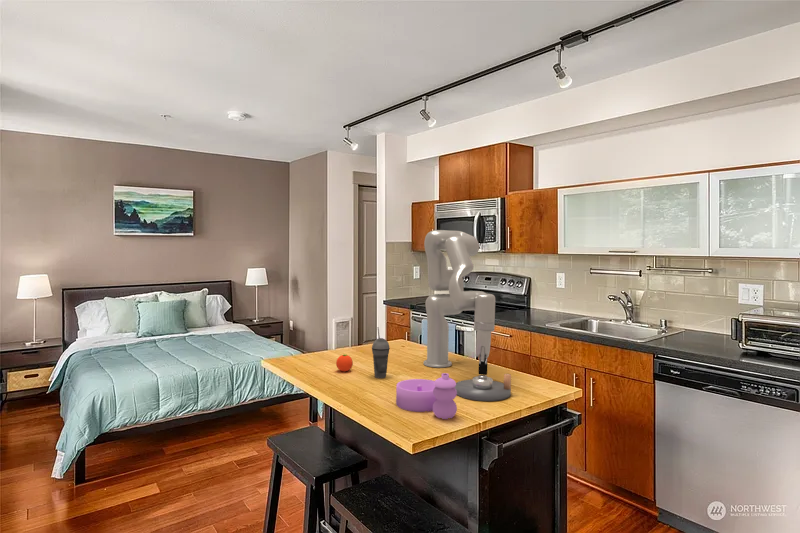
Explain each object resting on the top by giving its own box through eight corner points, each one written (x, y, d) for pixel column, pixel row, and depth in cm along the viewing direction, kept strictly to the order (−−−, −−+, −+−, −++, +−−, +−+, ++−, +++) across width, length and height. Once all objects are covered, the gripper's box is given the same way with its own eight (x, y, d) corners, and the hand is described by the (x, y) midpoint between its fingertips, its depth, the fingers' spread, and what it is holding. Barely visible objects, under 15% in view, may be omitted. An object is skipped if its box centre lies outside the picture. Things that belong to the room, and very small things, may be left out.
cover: (472, 383, 174) (472, 373, 174) (492, 385, 173) (492, 374, 173) (472, 389, 167) (472, 378, 167) (492, 390, 166) (492, 379, 166)
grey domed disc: (457, 382, 183) (457, 364, 182) (510, 386, 178) (510, 368, 178) (450, 398, 163) (451, 378, 163) (510, 403, 159) (511, 382, 158)
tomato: (337, 368, 204) (338, 352, 203) (354, 368, 203) (354, 352, 203) (334, 373, 196) (334, 356, 195) (351, 373, 195) (351, 356, 195)
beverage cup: (387, 379, 186) (387, 329, 186) (369, 378, 188) (369, 328, 187) (391, 375, 194) (391, 326, 193) (373, 374, 195) (374, 325, 194)
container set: (387, 401, 160) (388, 362, 160) (424, 394, 168) (425, 357, 168) (431, 425, 139) (432, 380, 138) (471, 415, 147) (472, 373, 147)
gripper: (475, 322, 188) (474, 368, 189) (472, 329, 173) (471, 378, 174) (495, 323, 186) (493, 369, 187) (493, 330, 172) (492, 380, 173)
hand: (482, 373), depth 181 cm, fingers closed
